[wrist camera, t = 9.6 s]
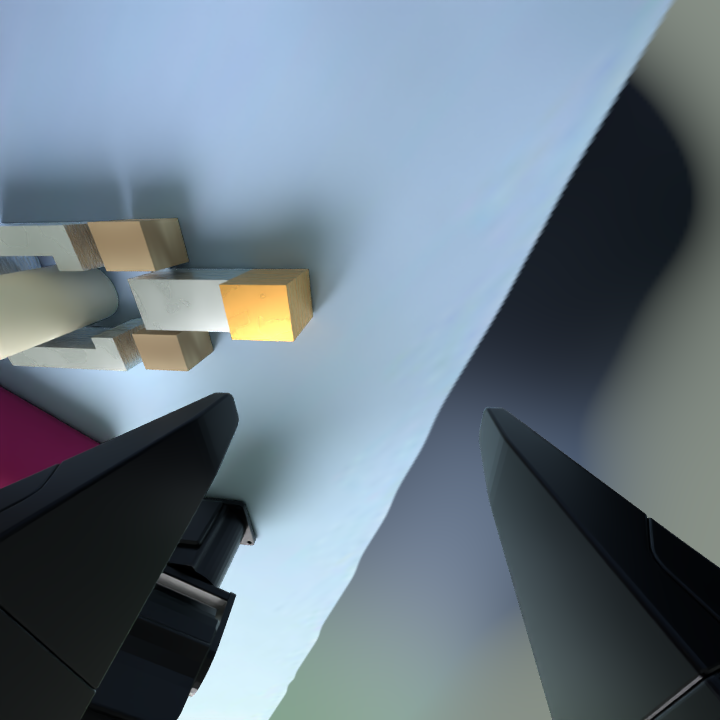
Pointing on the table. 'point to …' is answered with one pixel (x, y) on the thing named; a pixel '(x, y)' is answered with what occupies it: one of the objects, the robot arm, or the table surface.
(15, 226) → the socket
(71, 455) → the book
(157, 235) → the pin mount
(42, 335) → the cream tapered cylinder
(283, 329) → the pin
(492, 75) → the table surface
